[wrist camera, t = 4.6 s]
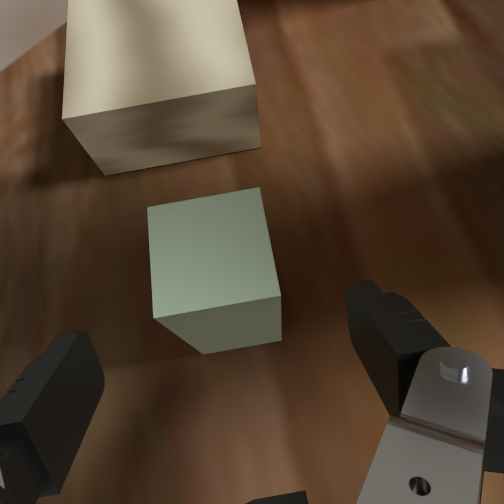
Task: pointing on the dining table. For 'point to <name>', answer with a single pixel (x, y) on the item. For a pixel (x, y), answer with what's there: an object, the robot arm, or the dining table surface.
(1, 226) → the dining table surface
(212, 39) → the maple block
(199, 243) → the sage block
